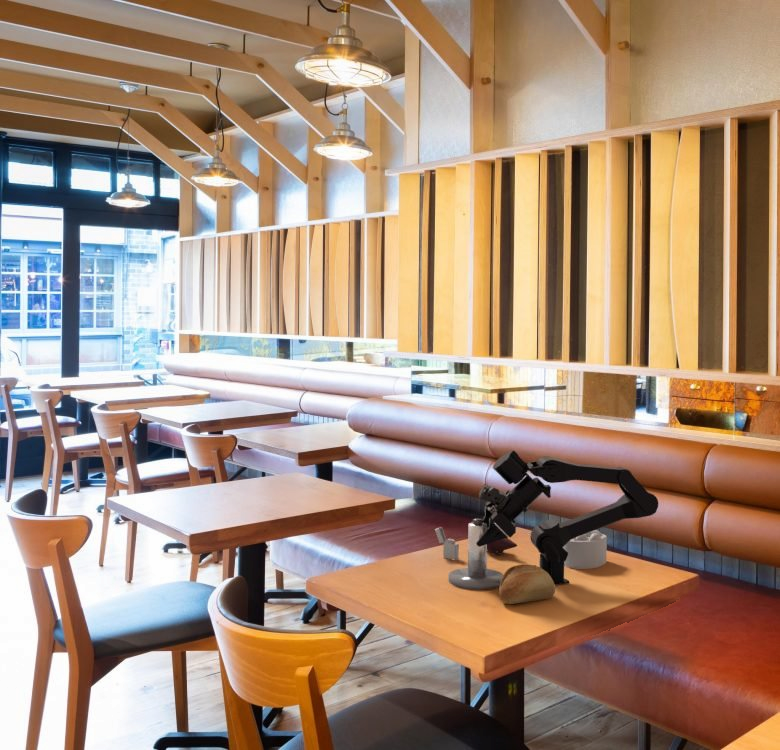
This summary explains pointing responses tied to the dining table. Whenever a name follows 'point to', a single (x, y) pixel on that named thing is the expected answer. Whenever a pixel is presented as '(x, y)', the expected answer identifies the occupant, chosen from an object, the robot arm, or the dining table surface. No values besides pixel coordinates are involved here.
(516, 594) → the bread roll
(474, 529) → the pepper mill
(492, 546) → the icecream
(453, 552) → the lighter
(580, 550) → the lumpy-topped squat cylinder
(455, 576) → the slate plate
